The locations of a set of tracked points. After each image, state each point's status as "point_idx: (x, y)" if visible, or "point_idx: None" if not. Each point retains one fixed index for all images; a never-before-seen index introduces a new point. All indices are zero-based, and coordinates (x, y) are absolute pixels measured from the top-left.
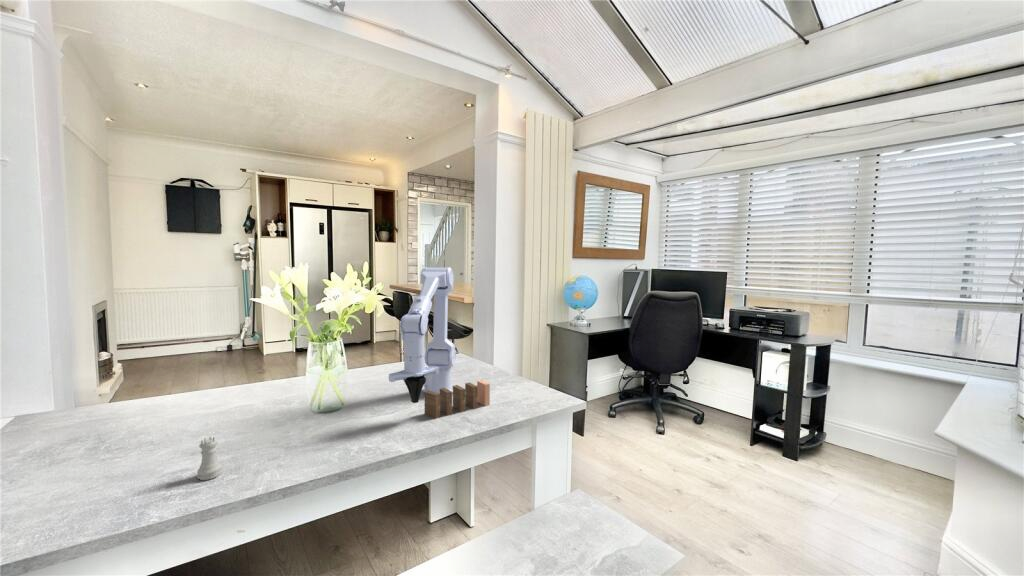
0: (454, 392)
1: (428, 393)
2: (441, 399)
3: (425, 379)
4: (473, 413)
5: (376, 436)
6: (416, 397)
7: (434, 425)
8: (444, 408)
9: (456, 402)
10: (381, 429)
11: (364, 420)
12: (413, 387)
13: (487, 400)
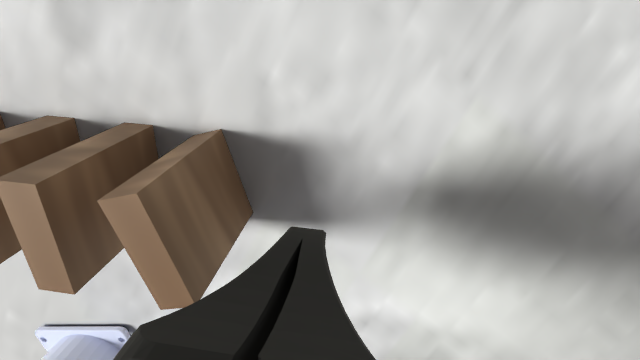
0: (8, 232)
1: (178, 268)
2: None
3: (124, 351)
4: (7, 55)
5: (621, 124)
6: (297, 251)
7: (268, 43)
8: (140, 170)
9: None
10: (532, 191)
11: (517, 327)
12: (322, 320)
13: None
